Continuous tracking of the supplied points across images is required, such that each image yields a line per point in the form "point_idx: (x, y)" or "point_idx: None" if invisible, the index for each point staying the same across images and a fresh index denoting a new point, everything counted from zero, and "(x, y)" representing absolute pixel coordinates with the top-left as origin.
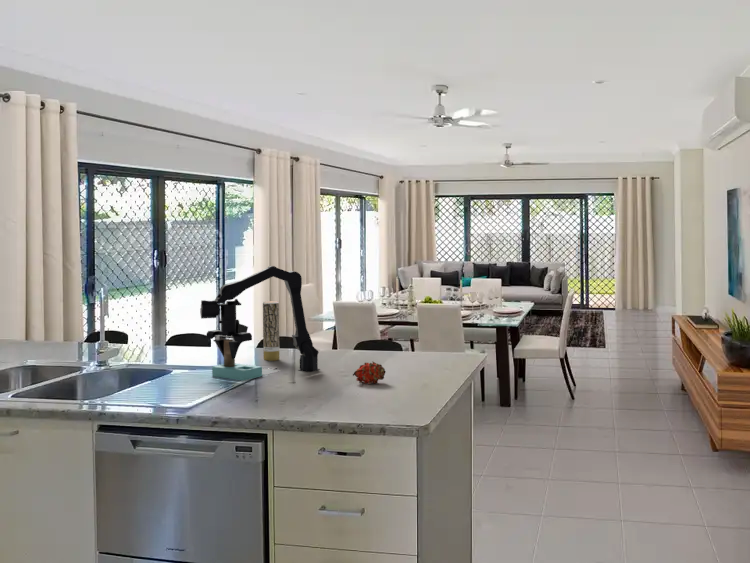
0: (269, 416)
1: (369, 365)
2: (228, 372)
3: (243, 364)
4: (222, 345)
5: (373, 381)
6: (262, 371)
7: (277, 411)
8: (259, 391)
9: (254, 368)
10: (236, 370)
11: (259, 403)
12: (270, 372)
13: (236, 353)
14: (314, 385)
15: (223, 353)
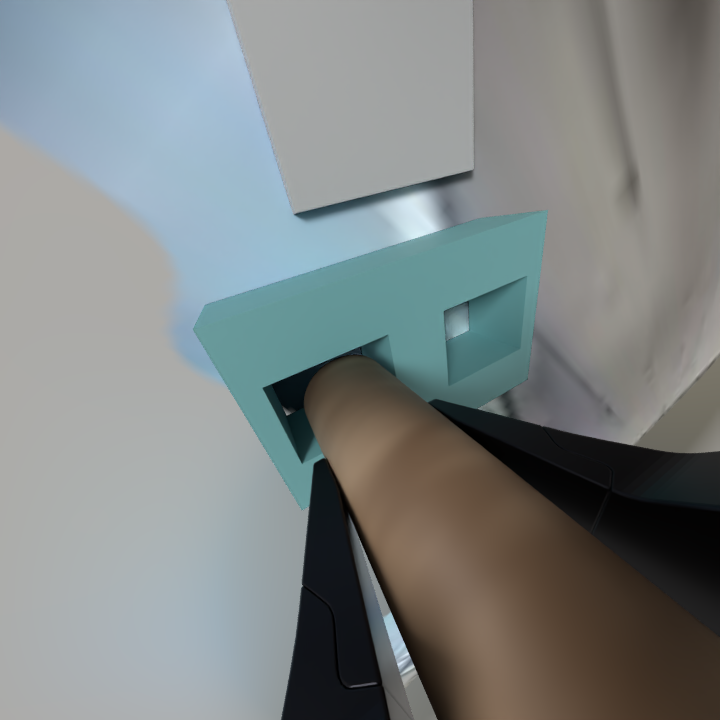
0: (647, 423)
1: None
2: None
3: (377, 267)
4: (402, 700)
5: None
6: (372, 53)
7: (651, 404)
8: (585, 373)
9: (537, 293)
10: (486, 400)
11: (618, 413)
12: (454, 45)
13: (489, 413)
14: (695, 167)
15: (355, 533)
